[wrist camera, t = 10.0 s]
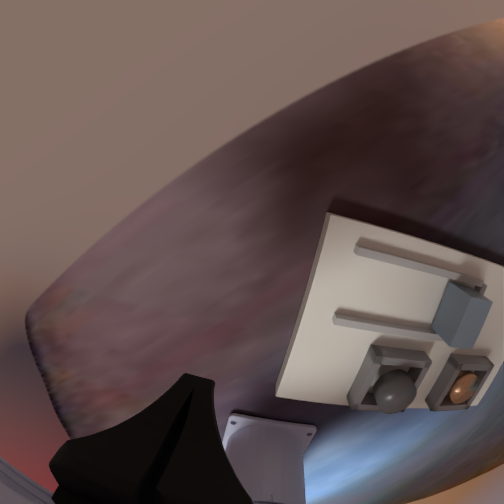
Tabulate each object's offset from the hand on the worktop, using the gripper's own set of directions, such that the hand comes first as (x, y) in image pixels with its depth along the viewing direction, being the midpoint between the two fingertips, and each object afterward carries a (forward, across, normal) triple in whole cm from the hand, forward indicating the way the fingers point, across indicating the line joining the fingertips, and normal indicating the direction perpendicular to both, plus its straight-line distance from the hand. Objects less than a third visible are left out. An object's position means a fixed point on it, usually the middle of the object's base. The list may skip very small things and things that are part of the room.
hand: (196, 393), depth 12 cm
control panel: (+9, -16, -1) cm, 19 cm away
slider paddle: (+8, -16, -4) cm, 18 cm away
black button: (+6, -13, +3) cm, 15 cm away
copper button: (+8, -21, +2) cm, 22 cm away
